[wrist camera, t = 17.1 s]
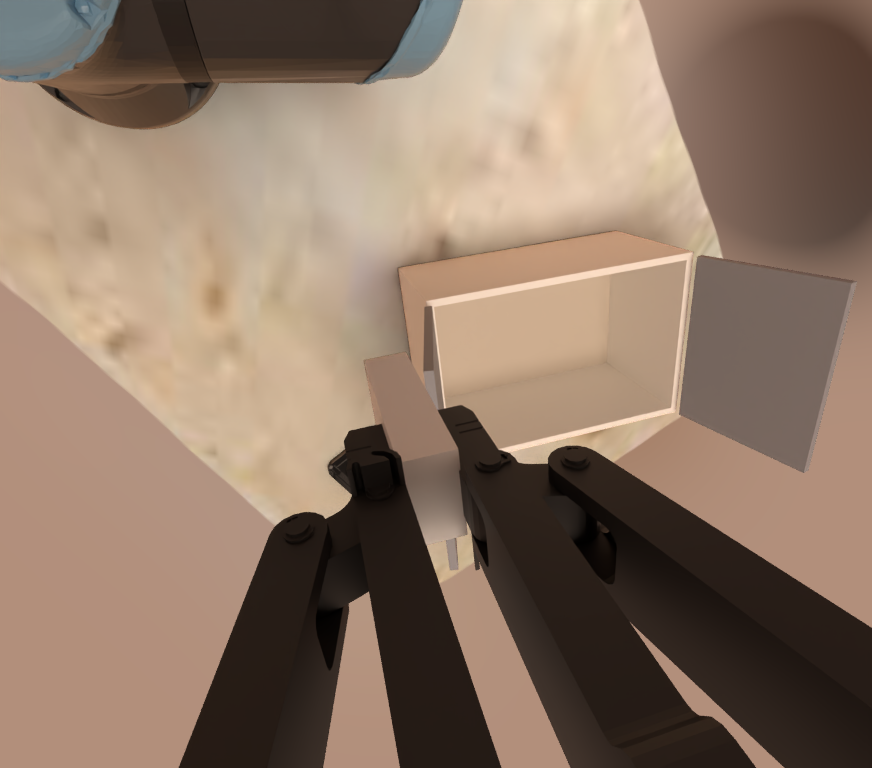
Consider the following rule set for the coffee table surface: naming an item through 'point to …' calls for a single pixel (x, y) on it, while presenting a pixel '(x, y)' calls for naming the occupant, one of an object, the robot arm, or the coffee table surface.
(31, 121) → the coffee table surface
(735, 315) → the flap
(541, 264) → the carton
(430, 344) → the flap
